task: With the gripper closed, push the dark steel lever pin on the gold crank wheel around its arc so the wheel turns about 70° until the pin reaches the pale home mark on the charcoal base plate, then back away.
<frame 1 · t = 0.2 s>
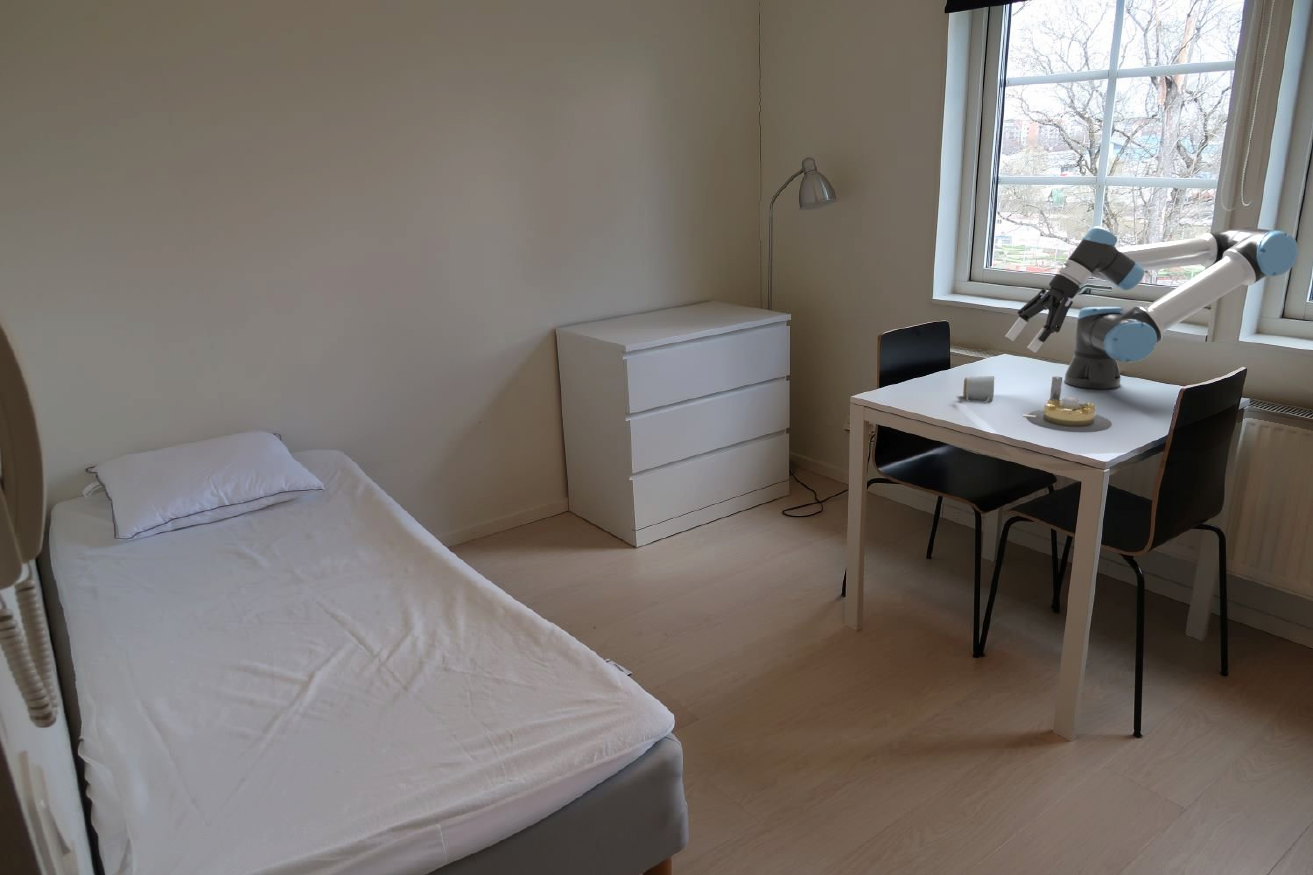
hand: (1019, 344, 246), 16 cm above the table, tool tilted 35°, fingers open, 13 cm apart
ceramic mug: (978, 404, 248), on the table
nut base: (1067, 425, 226), on the table
gold crank wheel: (1066, 400, 226), point 6 cm above the table, hinge at 0.0°
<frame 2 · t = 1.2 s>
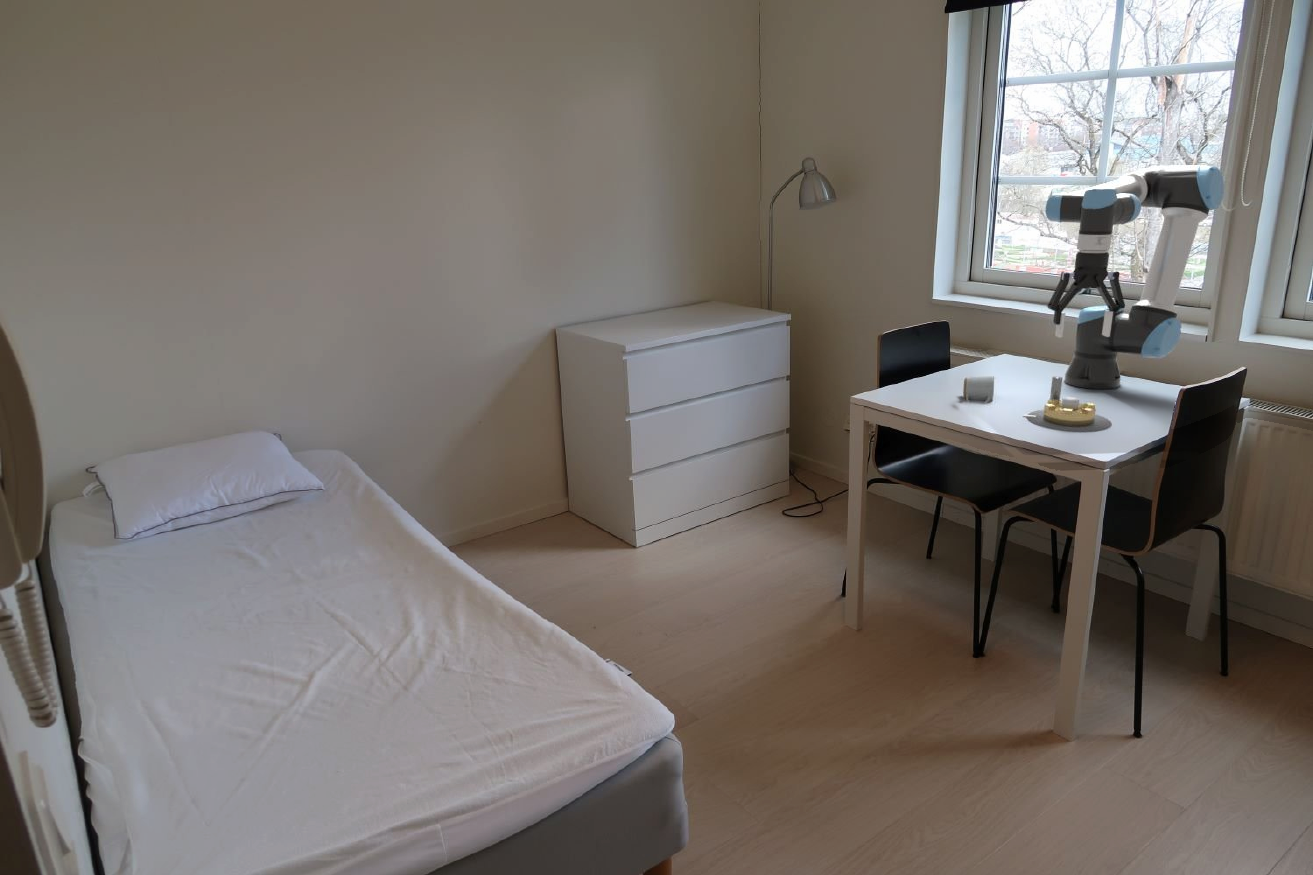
hand: (1082, 336, 228), 21 cm above the table, tool pointing down, fingers open, 11 cm apart
nothing on the table moved.
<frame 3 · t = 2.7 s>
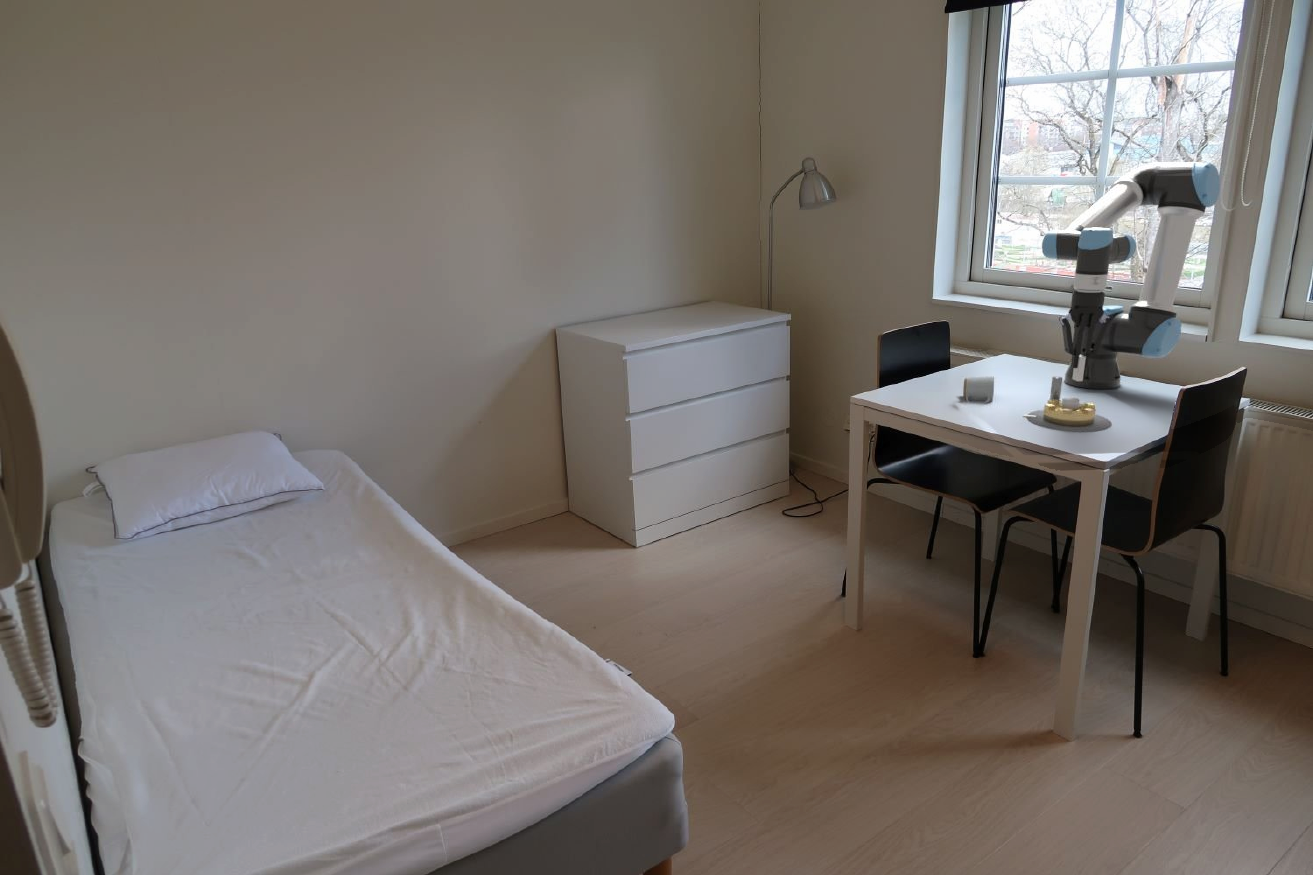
hand: (1077, 379, 231), 10 cm above the table, tool pointing down, fingers closed
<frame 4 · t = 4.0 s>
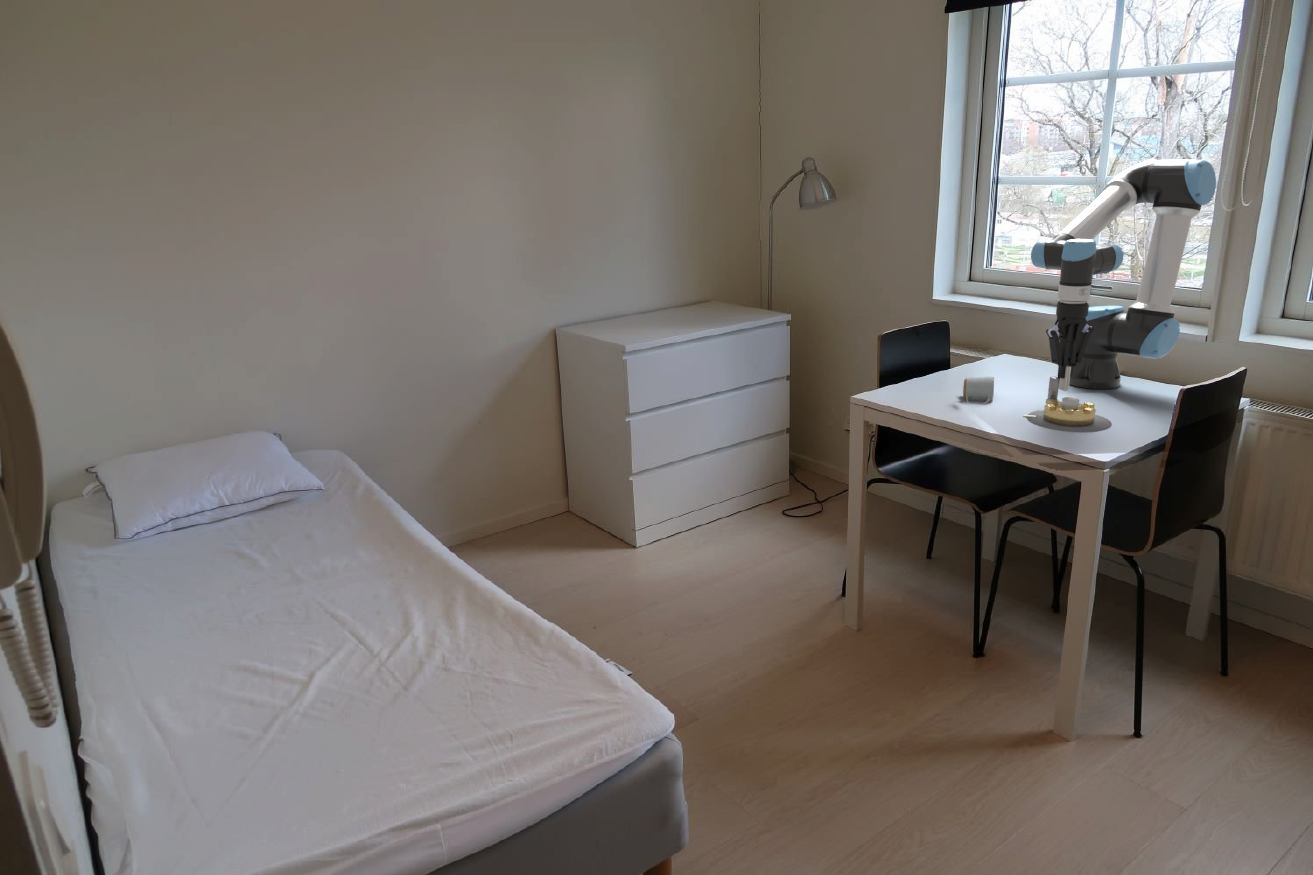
hand: (1063, 389, 232), 7 cm above the table, tool pointing down, fingers closed
gold crank wheel: (1066, 400, 226), point 6 cm above the table, hinge at 4.6°, touching gripper
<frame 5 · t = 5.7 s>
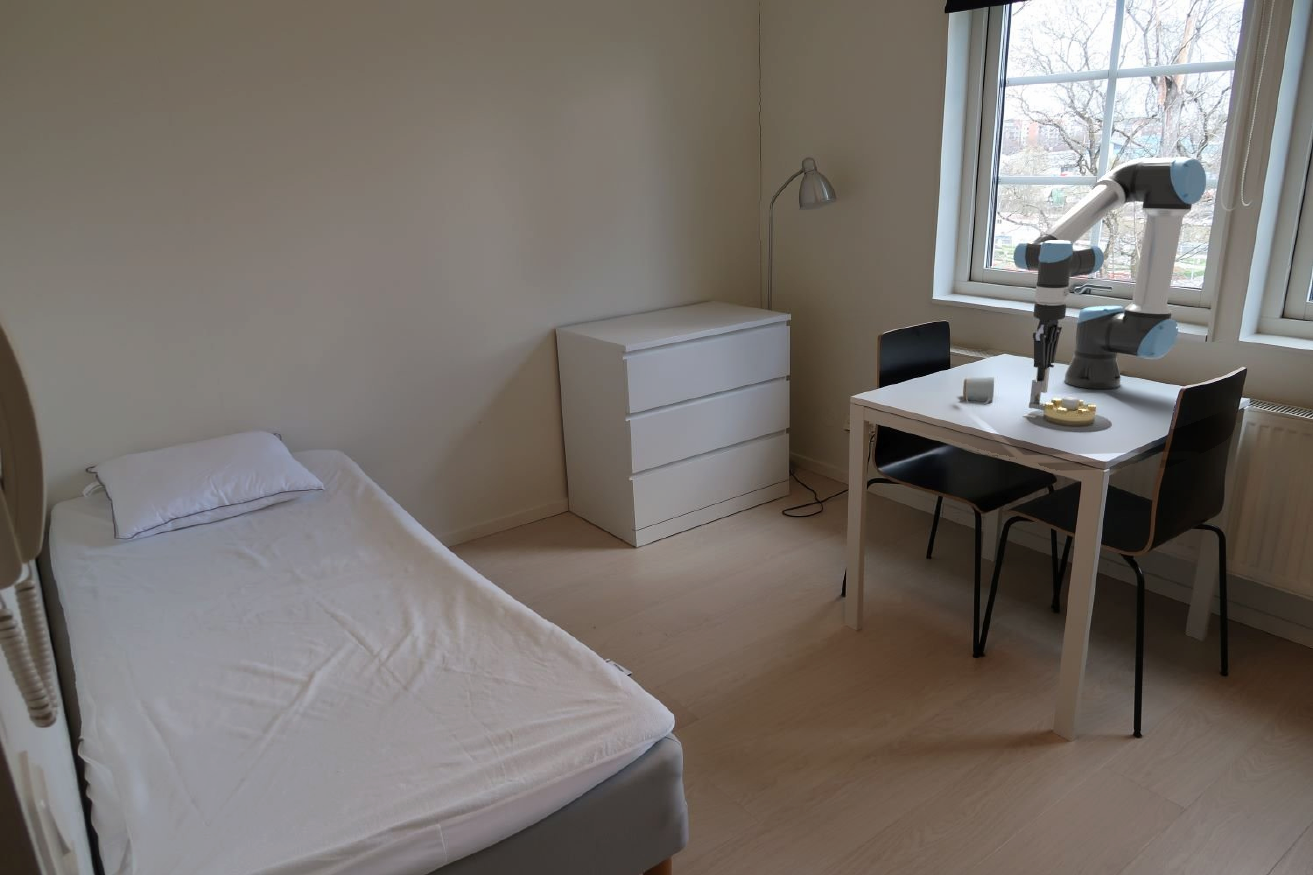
hand: (1041, 391, 231), 7 cm above the table, tool pointing down, fingers closed
gold crank wheel: (1062, 401, 225), point 6 cm above the table, hinge at 45.1°, touching gripper
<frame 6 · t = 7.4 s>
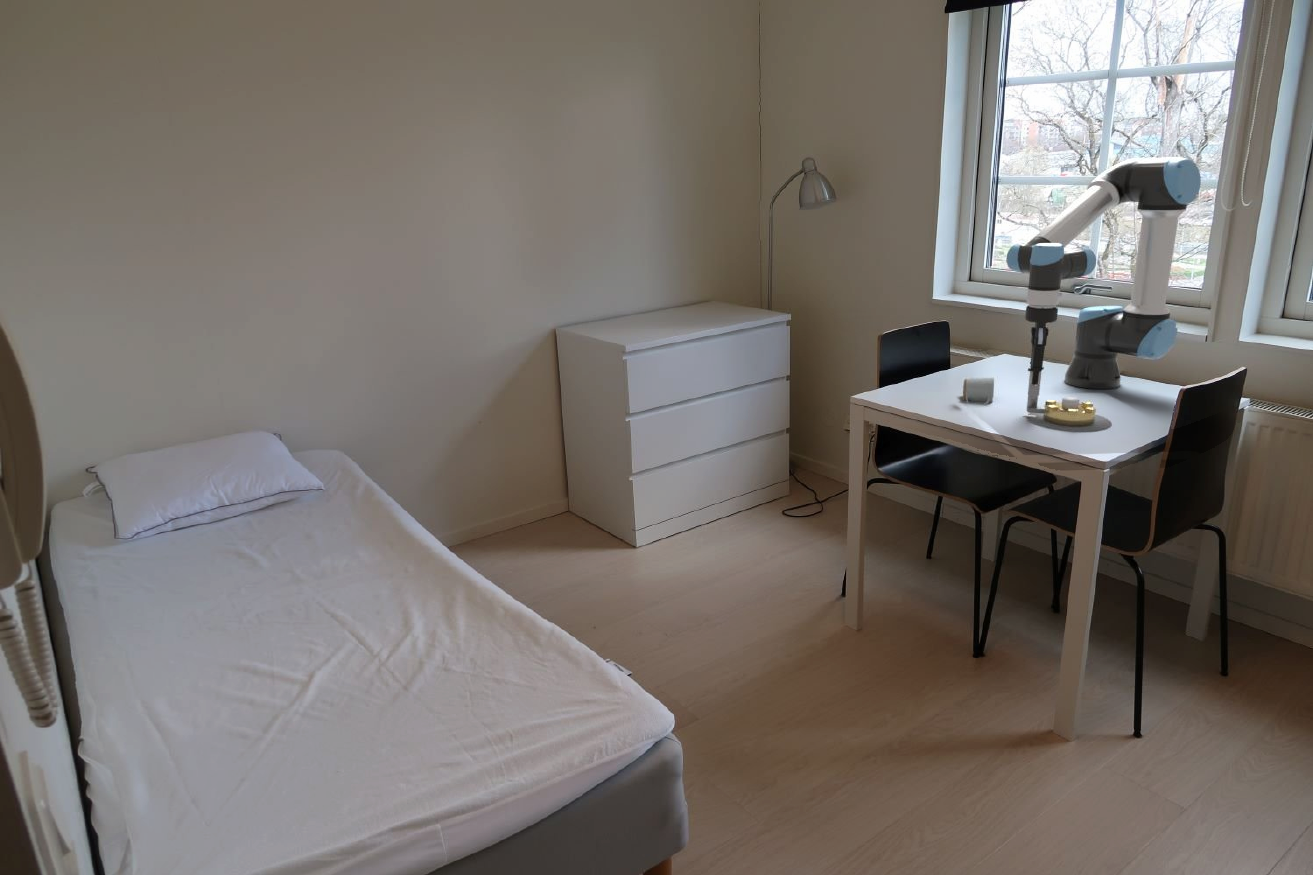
hand: (1033, 394, 231), 6 cm above the table, tool pointing down, fingers closed
gold crank wheel: (1061, 402, 224), point 6 cm above the table, hinge at 73.1°
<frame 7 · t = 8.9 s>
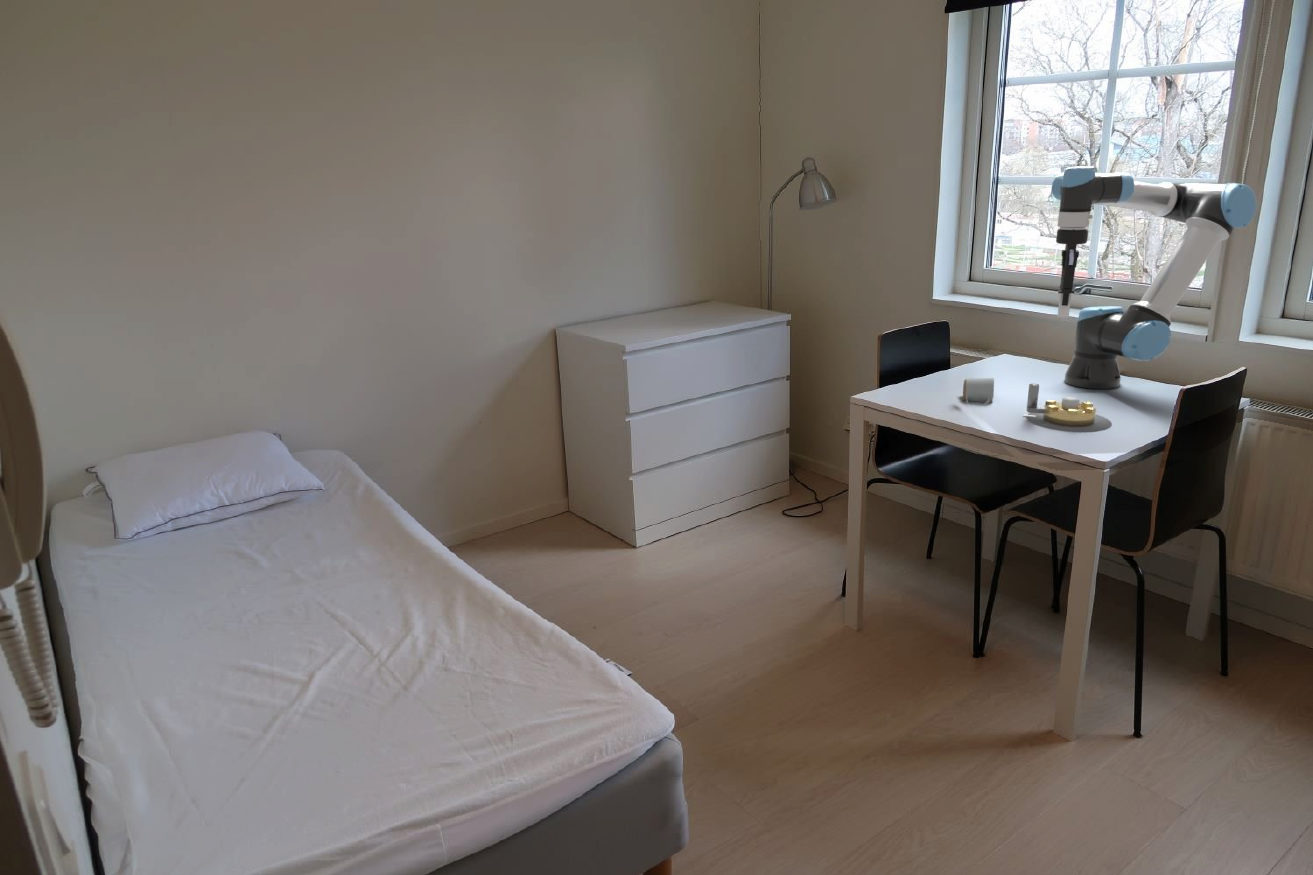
hand: (1062, 316, 238), 24 cm above the table, tool pointing down, fingers closed
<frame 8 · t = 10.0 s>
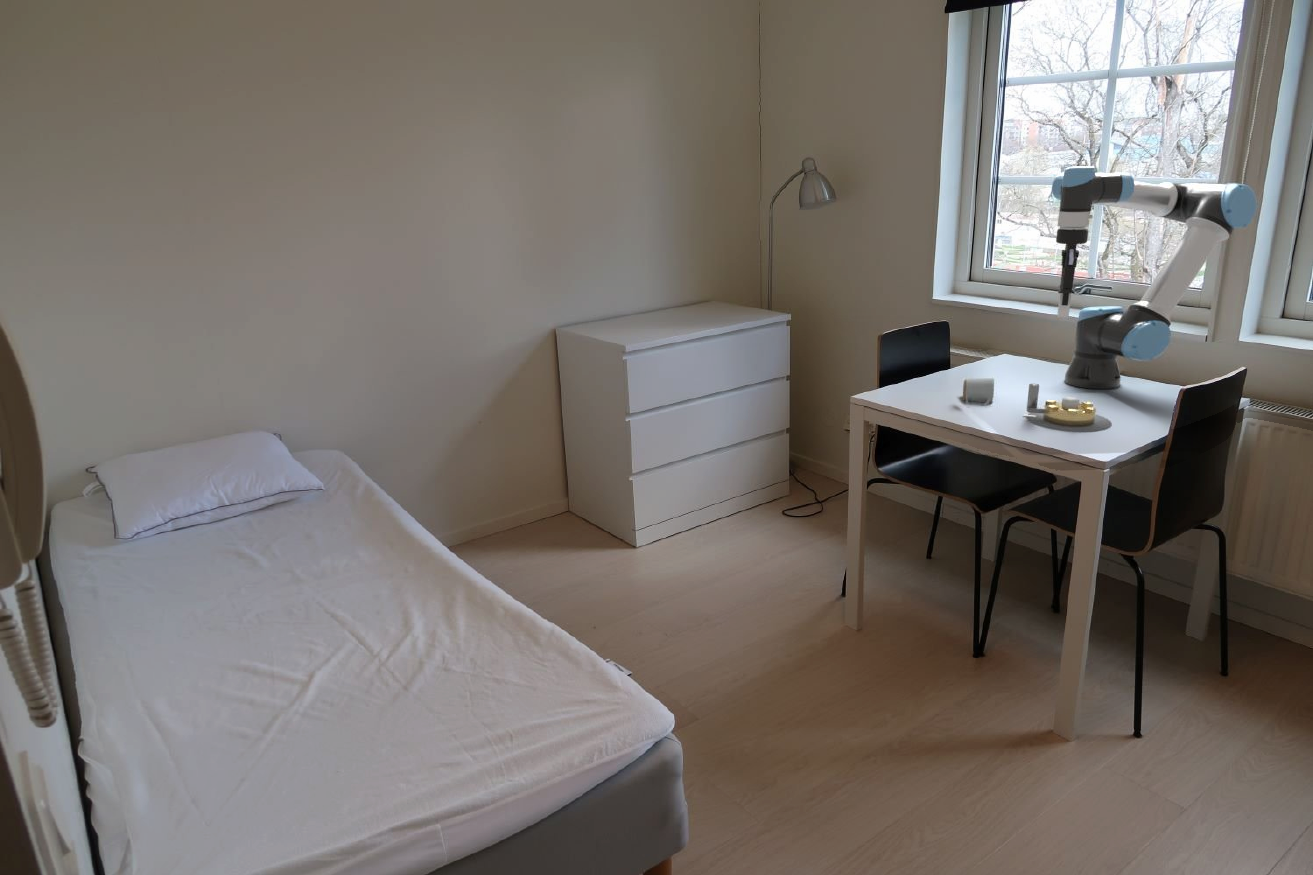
hand: (1062, 316, 238), 24 cm above the table, tool pointing down, fingers closed
at the end: gold crank wheel at +73° (first picture: +0°); ceramic mug moved 2.6 cm from its start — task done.
